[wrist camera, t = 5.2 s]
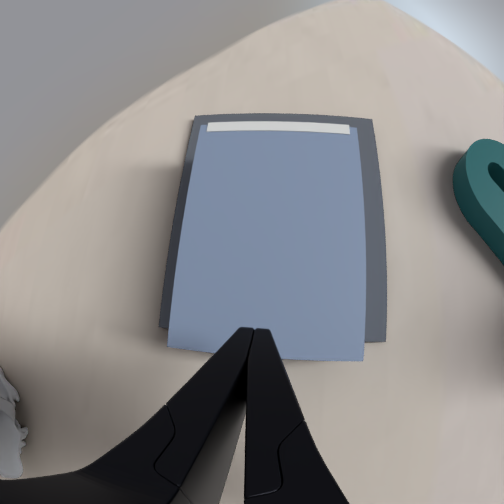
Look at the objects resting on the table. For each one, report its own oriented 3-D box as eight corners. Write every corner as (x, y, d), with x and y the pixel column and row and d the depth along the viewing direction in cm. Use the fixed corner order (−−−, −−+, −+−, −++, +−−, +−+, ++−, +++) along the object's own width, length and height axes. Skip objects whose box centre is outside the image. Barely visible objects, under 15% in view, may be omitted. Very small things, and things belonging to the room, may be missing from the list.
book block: (363, 360, 11) (356, 125, 14) (166, 346, 12) (200, 123, 15) (346, 357, 15) (346, 162, 18) (191, 346, 16) (215, 158, 19)
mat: (383, 341, 15) (385, 341, 15) (161, 327, 17) (158, 327, 16) (370, 123, 19) (371, 119, 19) (196, 119, 20) (195, 115, 20)
